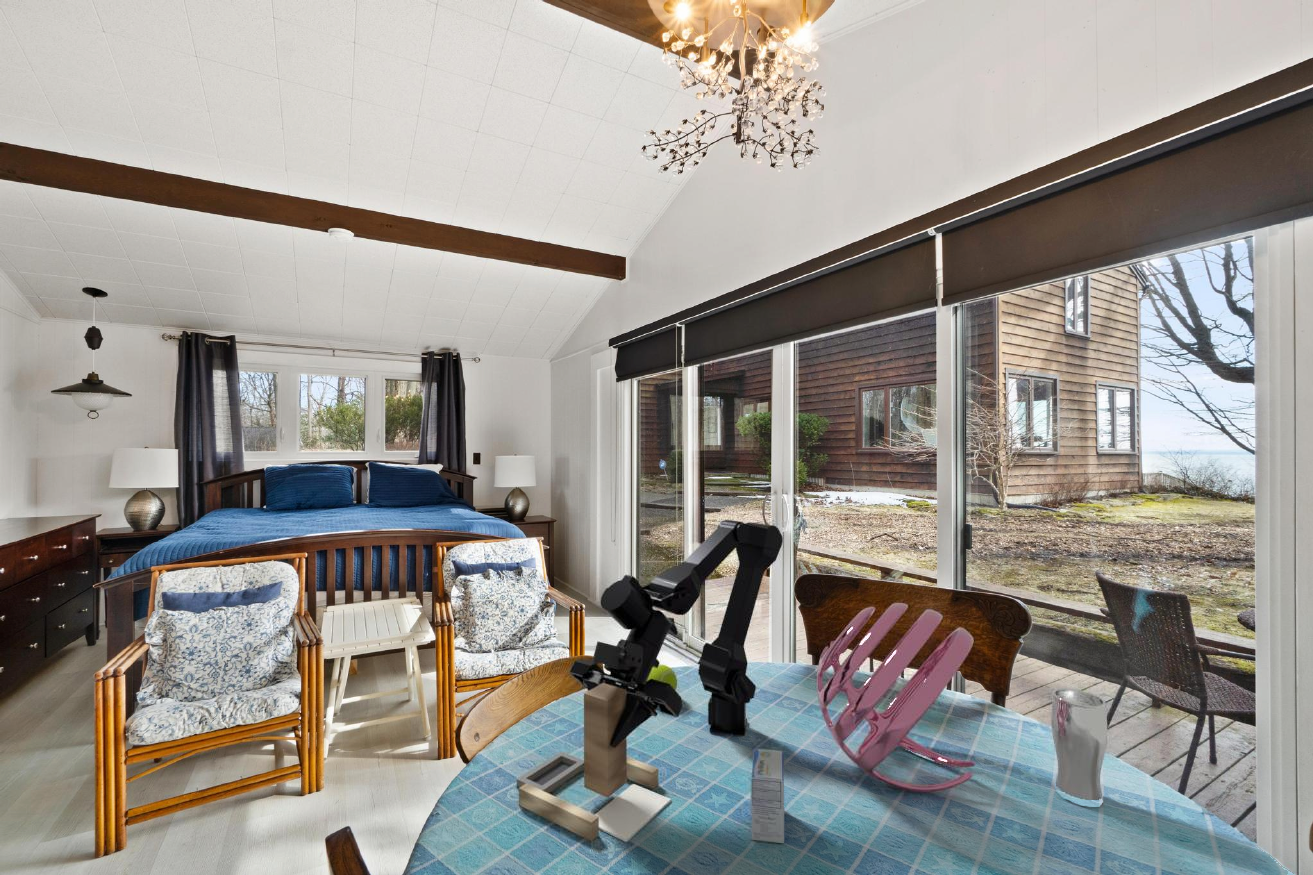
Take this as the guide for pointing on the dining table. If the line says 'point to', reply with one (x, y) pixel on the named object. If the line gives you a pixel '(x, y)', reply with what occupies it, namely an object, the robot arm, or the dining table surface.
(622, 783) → the walnut block
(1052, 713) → the beer glass
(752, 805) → the medicine box
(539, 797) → the channel
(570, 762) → the tray
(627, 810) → the pad
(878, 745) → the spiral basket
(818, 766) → the dining table surface
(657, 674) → the tennis ball
